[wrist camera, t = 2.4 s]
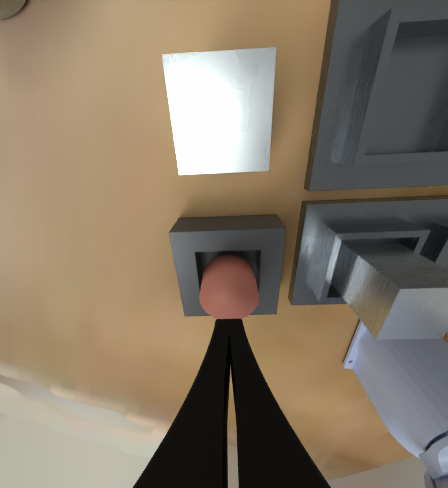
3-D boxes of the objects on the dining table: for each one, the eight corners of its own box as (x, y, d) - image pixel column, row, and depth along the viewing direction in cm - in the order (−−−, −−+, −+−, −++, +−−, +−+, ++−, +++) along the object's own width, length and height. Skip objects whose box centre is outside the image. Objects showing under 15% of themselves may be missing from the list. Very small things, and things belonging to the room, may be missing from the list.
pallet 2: (469, 293, 19) (502, 312, 17) (288, 297, 19) (296, 317, 17) (541, 191, 14) (599, 199, 12) (302, 201, 15) (315, 210, 13)
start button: (253, 295, 16) (258, 319, 13) (205, 296, 16) (202, 321, 13) (255, 253, 14) (260, 273, 12) (200, 255, 14) (196, 275, 12)
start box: (269, 290, 19) (276, 314, 16) (190, 292, 19) (184, 316, 16) (275, 214, 15) (286, 228, 13) (178, 218, 16) (168, 232, 13)
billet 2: (373, 278, 17) (442, 338, 11) (328, 279, 17) (375, 339, 12) (389, 238, 15) (479, 286, 10) (338, 239, 15) (400, 288, 10)
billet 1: (252, 162, 14) (269, 170, 8) (197, 164, 14) (179, 175, 8) (253, 93, 12) (276, 47, 6) (190, 96, 12) (161, 54, 7)
